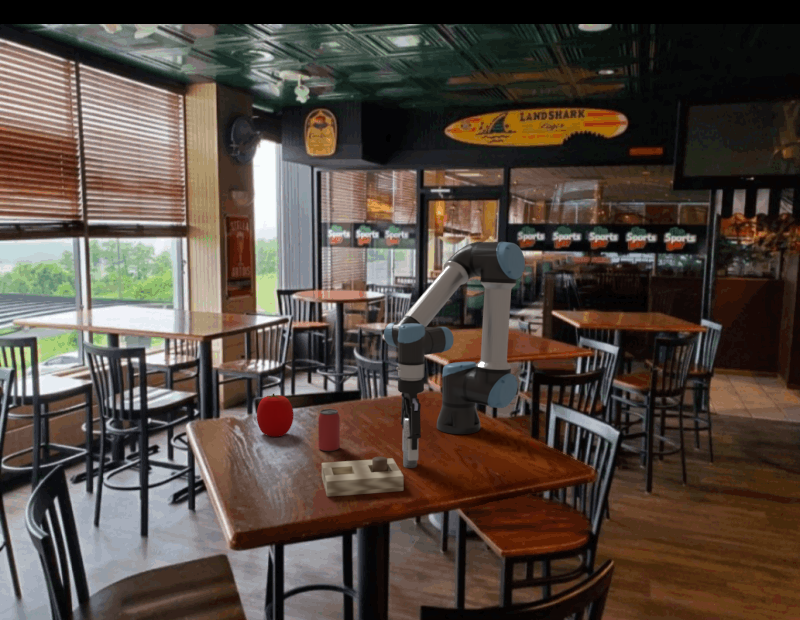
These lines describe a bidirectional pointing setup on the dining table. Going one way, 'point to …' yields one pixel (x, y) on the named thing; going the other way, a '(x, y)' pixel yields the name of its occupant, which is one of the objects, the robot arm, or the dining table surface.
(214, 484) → the dining table surface
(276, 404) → the tomato
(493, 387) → the robot arm
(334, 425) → the beer can
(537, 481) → the dining table surface
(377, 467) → the socket block
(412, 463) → the steel pin
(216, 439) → the dining table surface
